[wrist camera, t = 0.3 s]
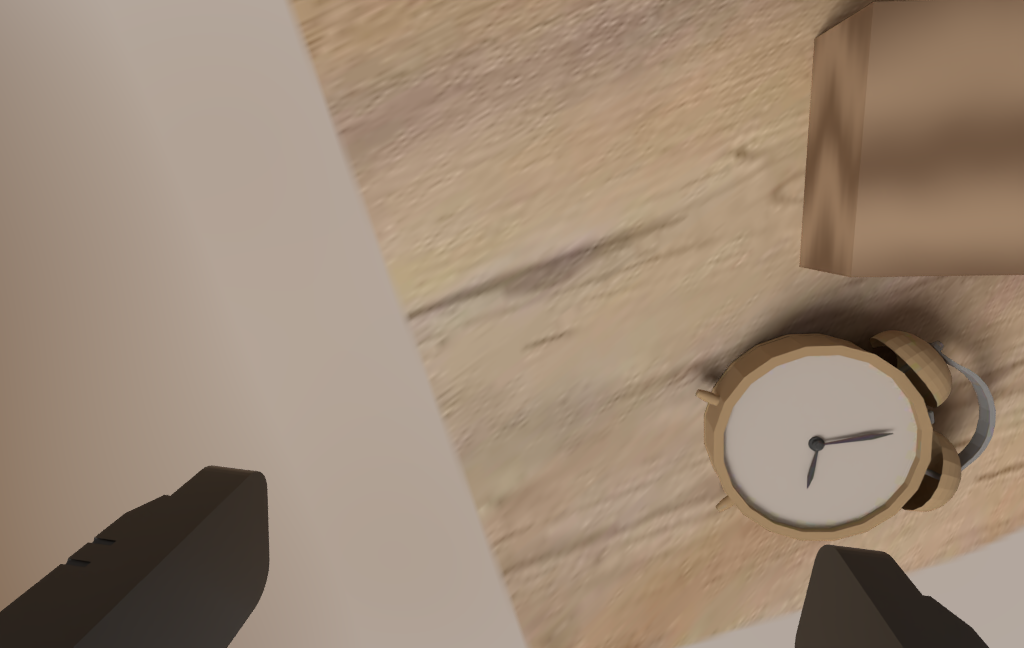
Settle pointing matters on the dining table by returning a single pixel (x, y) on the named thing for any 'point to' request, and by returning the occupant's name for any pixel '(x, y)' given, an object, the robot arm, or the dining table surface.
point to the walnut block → (917, 142)
